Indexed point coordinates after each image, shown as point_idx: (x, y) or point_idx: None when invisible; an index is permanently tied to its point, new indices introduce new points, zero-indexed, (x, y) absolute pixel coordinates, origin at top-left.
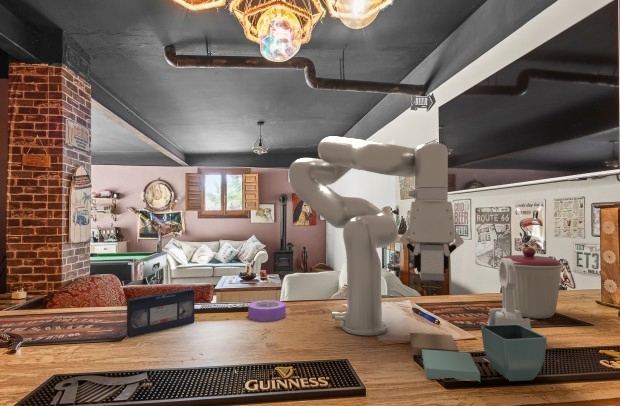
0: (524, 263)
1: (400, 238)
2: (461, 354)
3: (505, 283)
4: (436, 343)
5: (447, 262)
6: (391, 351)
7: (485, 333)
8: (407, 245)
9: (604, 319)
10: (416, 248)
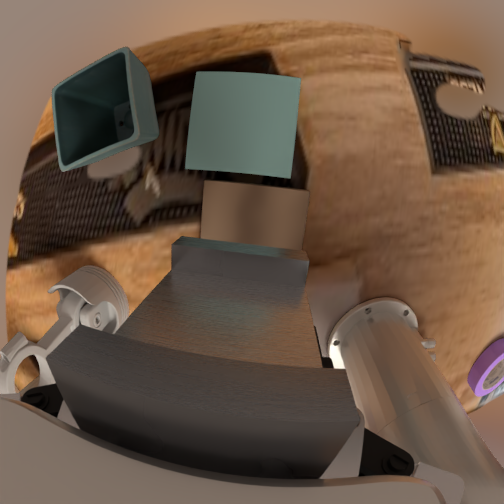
0: None
1: (462, 494)
2: (204, 155)
3: (45, 372)
4: (246, 219)
5: None
6: (348, 213)
7: (140, 115)
8: (410, 464)
9: None
10: (346, 446)
